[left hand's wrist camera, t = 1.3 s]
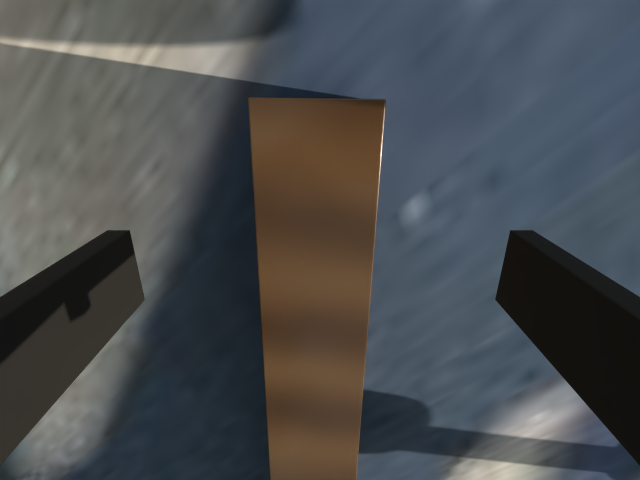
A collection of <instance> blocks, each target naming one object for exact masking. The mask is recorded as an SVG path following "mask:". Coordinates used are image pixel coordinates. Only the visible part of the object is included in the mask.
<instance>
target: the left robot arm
mask: <svg viewBox="0 0 640 480" xmlns="http://www.w3.org/2000/svg"><path fill="white" fill-rule="evenodd" d="M144 300H145V299H144V294H143V290H142V285H141V281H140V276H139V271H138V267H137V262H136V258H135V253H134V248H133V244H132V239H131V234H130V230H107V231H106V232H104V233H103V234H101V235H99V236H98V237H96V238H95V239H93V240H91V241H90V242H88V243H86V244H85V245H83V246H82V247H80V248H78V249H77V250H75V251H74V252H72V253H70V254H69V255H67V256H66V257H64V258H62V259H61V260H59V261H58V262H56V263H54V264H53V265H51V266H50V267H48V268H46V269H45V270H43V271H41V272H40V273H38V274H37V275H35V276H33V277H32V278H30V279H29V280H27V281H25V282H24V283H22V284H21V285H19V286H17V287H16V288H14V289H13V290H11V291H9V292H8V293H6V294H5V295H3V296H1V297H0V465H1V464H2V463H3V462H4V460H5V459H6V458H7V457H8V456H9V455H10V454H11V452H12V451H13V450H14V449H15V448H16V447H17V445H18V444H19V443H20V442H21V441H22V440H23V439H24V437H25V436H26V435H27V434H28V433H29V432H30V431H31V429H32V428H33V427H34V426H35V425H36V424H37V423H38V421H39V420H40V419H41V418H42V417H43V416H44V414H45V413H46V412H47V411H48V410H49V409H50V408H51V406H52V405H53V404H54V403H55V402H56V401H57V400H58V398H59V397H60V396H61V395H62V394H63V393H64V392H65V390H66V389H67V388H68V387H69V386H70V385H71V383H72V382H73V381H74V380H75V379H76V378H77V377H78V375H79V374H80V373H81V372H82V371H83V370H84V369H85V367H86V366H87V365H88V364H89V363H90V362H91V361H92V359H93V358H94V357H95V356H96V355H97V354H98V352H99V351H100V350H101V349H102V348H103V347H104V346H105V344H106V343H107V342H108V341H109V340H110V339H111V338H112V336H113V335H114V334H115V333H116V332H117V331H118V330H119V328H120V327H121V326H122V325H123V324H124V323H125V321H126V320H127V319H128V318H129V317H130V316H131V315H132V313H133V312H134V311H135V310H136V309H137V308H138V307H139V305H140V304H141V303H142V302H143V301H144ZM495 300H496V301H497V302H498V303H499V304H500V305H501V307H502V308H503V309H504V310H505V311H506V312H507V313H508V315H509V316H510V317H511V318H512V319H513V320H514V321H515V323H516V324H517V325H518V326H519V327H520V328H521V330H522V331H523V332H524V333H525V334H526V335H527V336H528V338H529V339H530V340H531V341H532V342H533V343H534V344H535V346H536V347H537V348H538V349H539V350H540V351H541V352H542V354H543V355H544V356H545V357H546V358H547V359H548V361H549V362H550V363H551V364H552V365H553V366H554V367H555V369H556V370H557V371H558V372H559V373H560V374H561V375H562V377H563V378H564V379H565V380H566V381H567V382H568V383H569V385H570V386H571V387H572V388H573V389H574V390H575V392H576V393H577V394H578V395H579V396H580V397H581V398H582V400H583V401H584V402H585V403H586V404H587V405H588V406H589V408H590V409H591V410H592V411H593V412H594V413H595V414H596V416H597V417H598V418H599V419H600V420H601V421H602V423H603V424H604V425H605V426H606V427H607V428H608V429H609V431H610V432H611V433H612V434H613V435H614V436H615V437H616V439H617V440H618V441H619V442H620V443H621V444H622V445H623V447H624V448H625V449H626V450H627V451H628V452H629V454H630V455H631V456H632V457H633V458H634V459H635V460H636V462H637V463H638V464H639V465H640V297H639V296H637V295H635V294H634V293H632V292H631V291H629V290H627V289H626V288H624V287H623V286H621V285H619V284H618V283H616V282H615V281H613V280H611V279H610V278H608V277H607V276H605V275H603V274H602V273H600V272H599V271H597V270H595V269H594V268H592V267H590V266H589V265H587V264H586V263H584V262H582V261H581V260H579V259H578V258H576V257H574V256H573V255H571V254H570V253H568V252H566V251H565V250H563V249H562V248H560V247H558V246H557V245H555V244H554V243H552V242H550V241H549V240H547V239H545V238H544V237H542V236H541V235H539V234H537V233H536V232H534V231H533V230H510V234H509V239H508V244H507V248H506V253H505V258H504V262H503V267H502V271H501V276H500V281H499V285H498V290H497V294H496V299H495Z"/></svg>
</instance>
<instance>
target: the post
mask: <svg viewBox="0 0 640 480" xmlns="http://www.w3.org/2000/svg"><path fill="white" fill-rule="evenodd" d="M385 104H386V100H385V99H337V98H269V97H249V98H248V105H249V122H250V139H251V156H252V173H253V190H254V207H255V224H256V242H257V259H258V276H259V293H260V310H261V327H262V344H263V361H264V378H265V396H266V413H267V430H268V447H269V464H270V480H356V476H357V463H358V450H359V437H360V425H361V412H362V399H363V386H364V373H365V361H366V348H367V335H368V322H369V309H370V296H371V284H372V271H373V258H374V245H375V232H376V219H377V207H378V194H379V181H380V168H381V155H382V142H383V130H384V117H385Z"/></svg>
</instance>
